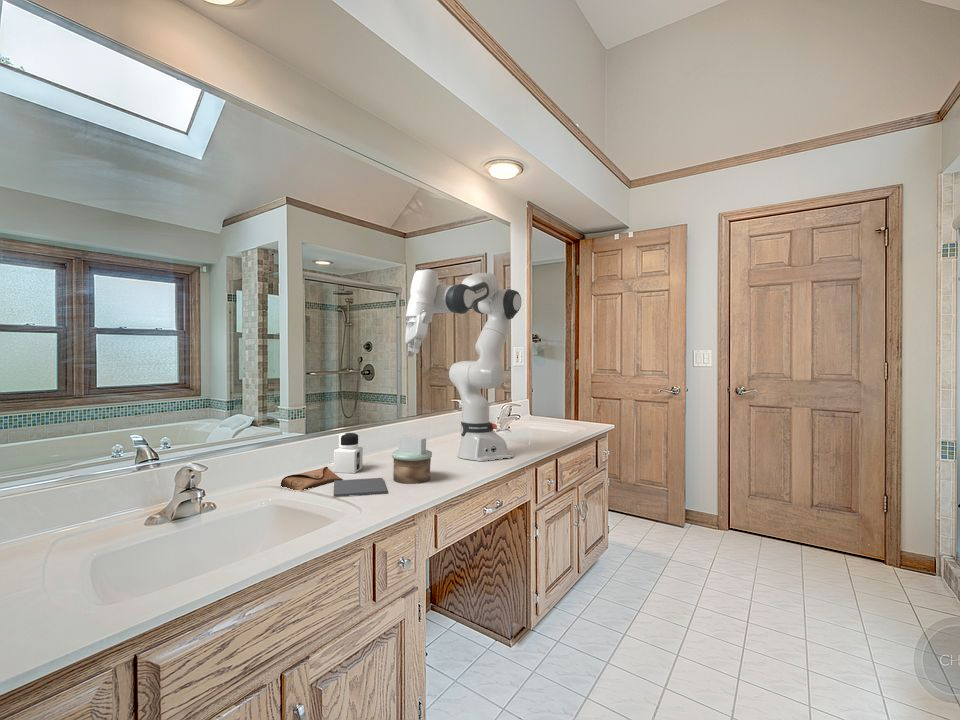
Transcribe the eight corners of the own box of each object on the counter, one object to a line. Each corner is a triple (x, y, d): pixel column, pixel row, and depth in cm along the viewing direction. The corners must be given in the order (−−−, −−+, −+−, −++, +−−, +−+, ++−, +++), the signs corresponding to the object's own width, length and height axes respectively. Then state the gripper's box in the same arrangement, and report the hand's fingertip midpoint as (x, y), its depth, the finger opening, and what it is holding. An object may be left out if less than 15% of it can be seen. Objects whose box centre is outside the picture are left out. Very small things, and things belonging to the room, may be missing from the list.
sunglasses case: (299, 492, 134) (291, 471, 136) (285, 501, 137) (278, 480, 139) (345, 478, 150) (337, 460, 152) (331, 487, 153) (324, 468, 155)
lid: (439, 460, 154) (439, 436, 154) (416, 468, 143) (416, 442, 143) (408, 455, 161) (408, 432, 160) (383, 463, 149) (384, 438, 149)
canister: (426, 473, 159) (426, 451, 159) (433, 482, 148) (433, 459, 148) (391, 475, 156) (391, 453, 156) (395, 484, 144) (395, 461, 144)
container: (362, 468, 165) (363, 432, 165) (354, 473, 157) (355, 435, 157) (341, 467, 165) (342, 431, 165) (333, 472, 158) (333, 435, 158)
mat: (382, 480, 149) (382, 477, 149) (386, 493, 135) (386, 490, 135) (334, 483, 145) (334, 480, 145) (333, 497, 131) (333, 494, 131)
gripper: (435, 310, 145) (428, 353, 143) (422, 321, 164) (416, 359, 162) (416, 306, 143) (408, 349, 141) (405, 318, 162) (398, 356, 160)
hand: (412, 355), depth 151 cm, fingers open, 8 cm apart
